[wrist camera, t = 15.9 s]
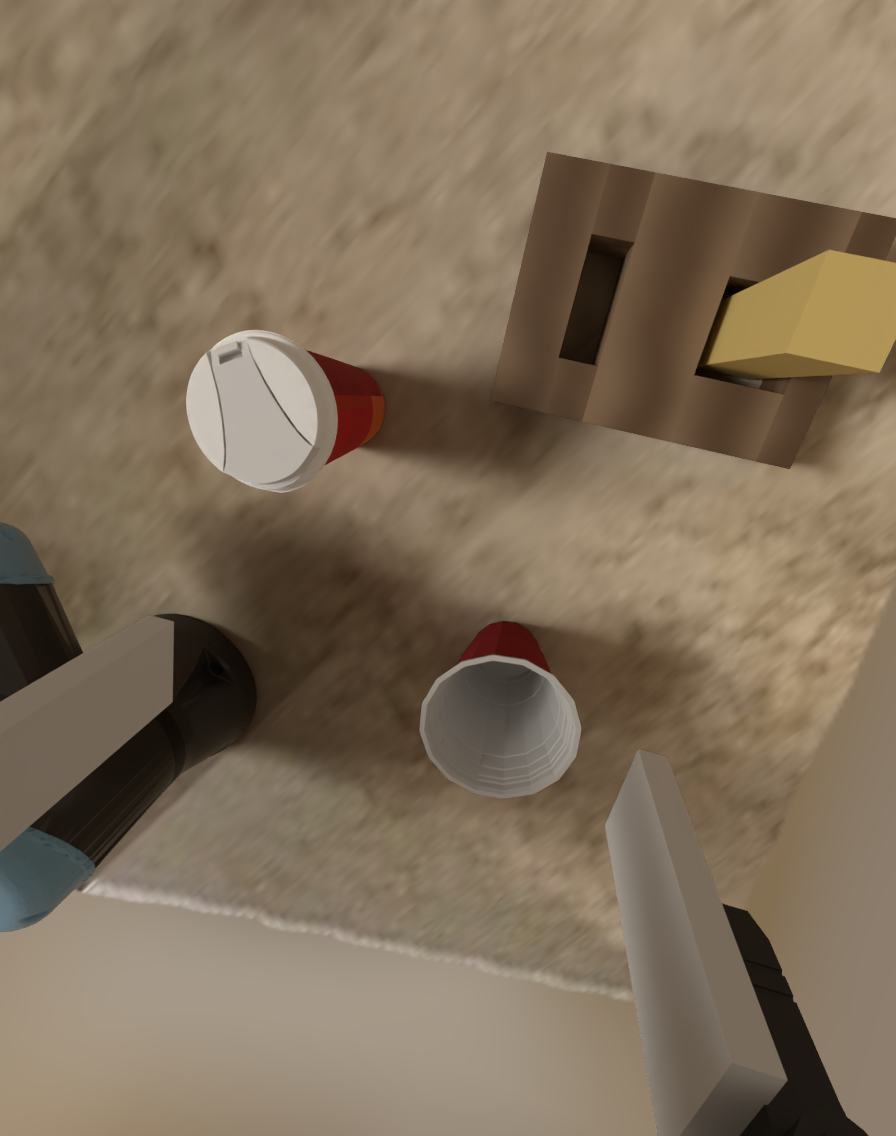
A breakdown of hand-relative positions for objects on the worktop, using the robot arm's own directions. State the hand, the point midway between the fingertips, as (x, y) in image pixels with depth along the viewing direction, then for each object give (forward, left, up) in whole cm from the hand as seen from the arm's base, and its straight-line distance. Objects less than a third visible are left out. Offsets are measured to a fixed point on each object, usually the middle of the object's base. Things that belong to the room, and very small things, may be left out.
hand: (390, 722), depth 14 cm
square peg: (+14, +15, -29) cm, 35 cm away
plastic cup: (+5, -12, -29) cm, 32 cm away
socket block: (+9, +15, -29) cm, 34 cm away
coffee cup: (-12, +5, -29) cm, 32 cm away
